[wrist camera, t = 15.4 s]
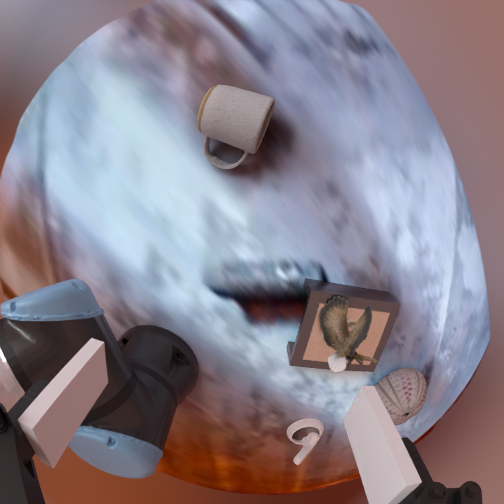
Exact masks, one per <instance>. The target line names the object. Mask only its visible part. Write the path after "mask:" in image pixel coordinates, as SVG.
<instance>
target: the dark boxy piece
mask: <svg viewBox="0 0 504 504" xmlns="http://www.w3.org/2000/svg"><path fill="white" fill-rule="evenodd" d="M303 286H304V288H305V291H306V293H307V295H308V298H307V302H306V305H305V309H304V313H303V316H302V320H301V323H300V327H299V330H298V334H297V337H296V341H295V342H288V345H287V352H288V358H289V364H290V365H291V366H300V367H309V368H320V369H330V368H329V364H328V357H329V356H331V355H332V354H334V353H335V352H337V350H334V348H331V347H329V346H328V345H327V344H326V342H325V341H324V337H323V336H324V335H323V331H322V330H323V329H322V327H321V322H320V320H321V318H320V316H321V312H322V310H323V309H324V308H325V305H328V302H329V301H330V300H332V299H333V298H334V297H338V296H340V297H341V298H345V300H348V311H347V327H348V331H349V332H350V331H351V329H352V327H353V326H354V325H355V323H356V322H357V321H358V319H359V318H360V317H361V316H362V315H363V313H364V311H365V309H366V307H367V306H368V305H372V308H371V309H372V321H371V325H370V329H369V332H368V333H367V334H368V335H367V337H366V339H365V340H363V341H362V343H360V345H359V347H358V348H356V350H355V351H356V352H357V353H359V354H361V355H363V356H366V357H370V358H374V359H376V360H377V361H379V358H380V356H381V354H382V351H383V349H384V347H385V344H386V342H387V339H388V337H389V334H390V332H391V329H392V327H393V324H394V321H395V319H396V316H397V313H398V310H399V307H400V305H401V304H400V303H399V302H398V301H397V300H396V299H395V298H394V297H392V296H391V295H390V294H389V293H388V292H385V291H378V290H372V289H366V288H360V287H354V286H348V285H342V284H336V283H330V282H324V281H318V280H312V279H307V278H305V281H304V285H303ZM347 362H348V360H347V361H346V363H347ZM377 363H378V362H377ZM377 363H374V362H371V361H364V360H363V365H360V364H359V363H358V362H357V361H356V360H354V359H353V361H352V362H351V365H350V368H349V370H347V365H346V369H345V370H347V371H368V372H374V369H375V367H376V365H377Z"/></svg>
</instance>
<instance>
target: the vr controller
mask: <svg viewBox="0 0 504 504" xmlns="http://www.w3.org/2000/svg"><path fill="white" fill-rule="evenodd" d="M305 427H314V428H317V429H318V430H319V431H320V433H319V434H317V433H315V432H311V433H309V434H308V436H306V437H303V439H302V440H296V439H293V438H292V435H293V433H294V432H295V431H297V430H299V429H301V428H305ZM323 429H324V425H323V423H322V422H321V421H319V420H316V419H302V420H299V421H296V422H294V423H293V424H291V425H290V426H289V427H288V429H287V432H286V433H287V436H288V438H289V439H290V440H291V441H292V442H293V443H296V444H300V445H303V448H302V449H301V450H300V452H299V453H298V454H297V455H296V456H295V458H294V460H293V462H294V463H295V464H296V465H299V464H300V463H301V462H302V461H303V460H304V459H305V457H306V456H307V455H308V454H309V452H310V451H311V450H312V449H313V447H314V446H315V445H316V443H317V441H318V440H319V439H320V437H321V435H322V433H323Z"/></svg>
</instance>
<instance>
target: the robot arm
mask: <svg viewBox="0 0 504 504" xmlns="http://www.w3.org/2000/svg"><path fill="white" fill-rule="evenodd" d="M1 315H2V316H3V318H2V319H0V504H45V501H44V498H43V495H42V491H41V488H40V485H39V481H38V477H37V474H36V470H35V466H34V462H33V459H32V457H33V455H34V454H36V455H37V457H38V459H39V460H40V461H41V462H43V463H45V464H47V465H49V466H50V467H52V468H54V467H55V465H56V463H57V462H58V460H59V458H60V457H61V455H62V454H63V452H64V450H65V449H66V447H67V445H69V447H70V448H71V449H72V451H74V453H76V454H77V455H78V456H79V457H81V458H82V459H83V460H84V461H86V462H88V463H89V464H91V465H93V466H94V467H96V468H98V469H100V470H103V471H105V472H107V473H110V474H113V475H117V476H121V477H127V478H144V477H147V476H149V475H151V474H152V473H153V472H154V471H155V469H156V467H157V465H158V462H159V460H160V458H161V457H162V456H163V450H164V447H165V443H166V440H167V437H168V433H169V430H170V427H171V423H172V420H173V417H174V413H175V410H176V407H177V406H178V405H179V404H180V403H181V402H182V401H183V400H184V399H185V398H186V397H187V396H188V395H189V394H190V392H191V391H192V390H193V388H194V386H195V384H196V380H197V377H198V363H197V359H196V357H195V355H194V353H193V351H192V350H191V348H190V347H189V346H188V345H187V344H186V343H185V342H184V341H183V340H182V339H181V338H180V337H178V336H177V335H175V334H174V333H172V332H170V331H168V330H166V329H163V328H160V327H157V326H151V325H142V326H136V327H133V328H131V329H129V330H128V331H126V332H125V333H124V334H123V335H122V336H121V338H120V339H119V340H118V341H117V340H116V338H115V336H114V334H113V332H112V330H111V328H110V327H109V325H108V323H107V321H106V319H105V316H104V310H103V309H102V308H100V306H99V304H98V303H97V301H96V299H95V297H94V295H93V293H92V291H91V289H90V287H89V286H88V285H87V284H86V283H85V282H84V281H82V280H79V279H71V280H67V281H63V282H59V283H56V284H53V285H50V286H46V287H43V288H40V289H37V290H34V291H31V292H29V293H26V294H23V295H21V296H18V297H16V298H13V299H10V300H8V301H6V302H4V303H2V304H1ZM343 423H344V426H345V429H346V432H347V435H348V438H349V441H350V444H351V447H352V450H353V453H354V457H355V460H356V463H357V466H358V469H359V472H360V476H361V479H362V482H363V485H364V489H365V492H366V495H367V499H368V502H369V504H482V493H481V488H480V486H479V485H478V484H477V483H475V482H473V481H467V482H466V483H464V484H463V485H462V486H461V487H460V488H446V487H445V486H444V485H443V484H441V483H439V482H433V480H432V478H431V476H430V474H429V472H428V470H427V468H426V466H425V464H424V462H423V460H422V459H421V456H420V455H419V453H418V451H417V449H416V447H415V445H414V443H413V442H411V441H410V440H409V439H408V438H407V437H406V438H401V437H400V435H399V433H398V431H397V429H396V427H395V425H394V423H393V421H392V419H391V417H390V416H389V414H388V412H387V410H386V408H385V406H384V404H383V402H382V400H381V398H380V396H379V394H378V393H377V391H376V389H375V387H374V386H361V388H360V390H359V392H358V394H357V396H356V398H355V400H354V402H353V404H352V406H351V408H350V410H349V412H348V413H347V415H346V417H345V419H344V421H343Z"/></svg>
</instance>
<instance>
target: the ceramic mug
mask: <svg viewBox="0 0 504 504" xmlns="http://www.w3.org/2000/svg"><path fill="white" fill-rule="evenodd" d="M274 104H275V99H274V98H272V97H268V96H265V95H262V94H258V93H254V92H251V91H247V90H243V89H239V88H236V87H232V86H227V85H215V86H213V87H212V88H210V89H209V90H208V92H207V93H206V95H205V96H204V98H203V100H202V103H201V106H200V109H199V112H198V118H197V127H198V129H199V131H200V132H201V133H203V134H204V135H206V137H205V140H204V146H203V148H204V154H205V156H206V158H207V159H208V161H209V162H210V163H211V164H213V165H214V166H216V167H218V168H221V169H226V170H227V169H232V168H235V167H237V166H238V165H240V164H241V163H242V162H243V161H244V159H245V158H246V157H247V155H248V154H249V153H252V154H254V153H256V151H257V149H258V148H259V146H260V144H261V142H262V139H263V136H264V134H265V132H266V129H267V127H268V124H269V121H270V118H271V115H272V112H273V109H274ZM210 138H212V139H215V140H218V141H221V142H224V143H227V144H229V145H232V146H234V147H237V148H239V149H242V150H244V151H245V154H244V155H243V157H242V158H241V159H240V160H239V161H238V162H236V163H234V164H231V163H230V164H229V163H226V162H224V161H222V160H220V159H218V158H217V157H216V156H213V155H212V154H211V152H210V149H209V146H210V145H209V143H210Z"/></svg>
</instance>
